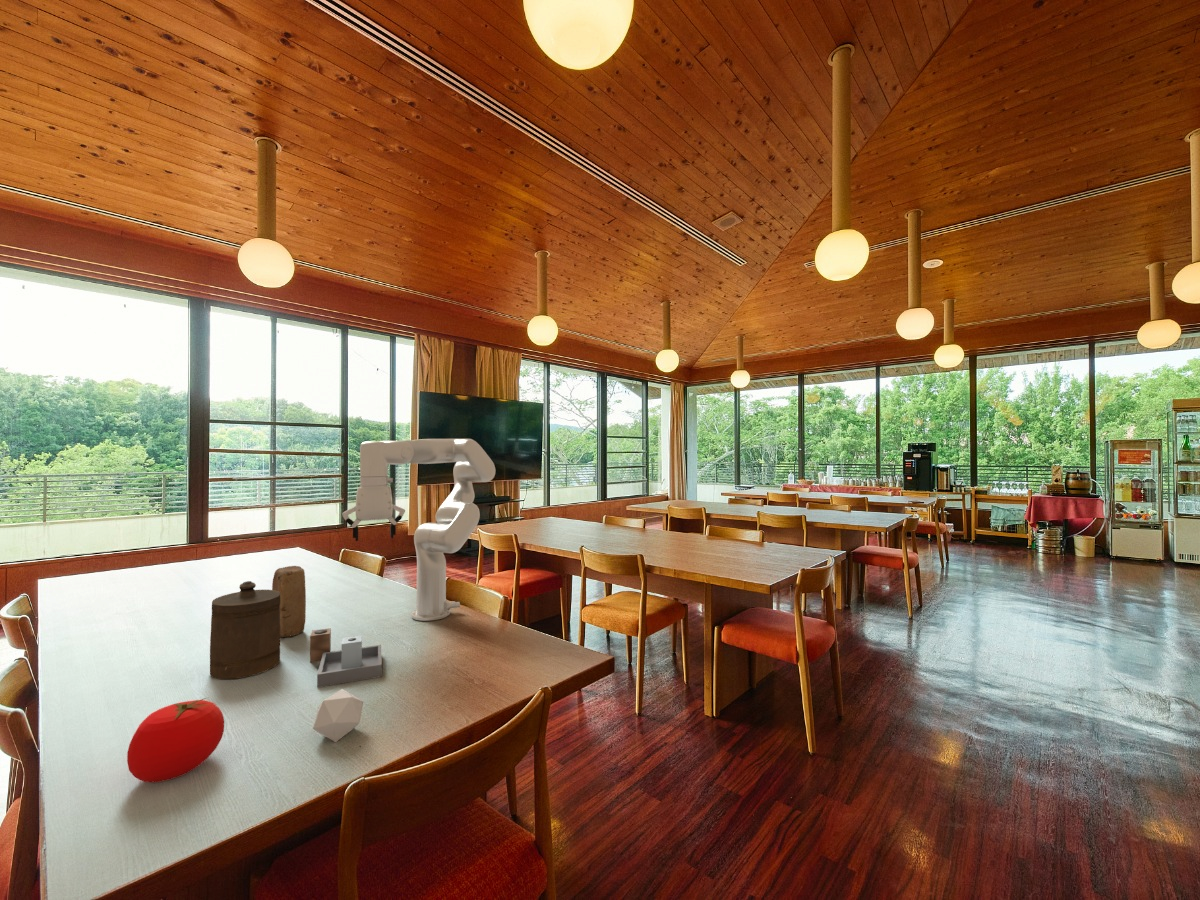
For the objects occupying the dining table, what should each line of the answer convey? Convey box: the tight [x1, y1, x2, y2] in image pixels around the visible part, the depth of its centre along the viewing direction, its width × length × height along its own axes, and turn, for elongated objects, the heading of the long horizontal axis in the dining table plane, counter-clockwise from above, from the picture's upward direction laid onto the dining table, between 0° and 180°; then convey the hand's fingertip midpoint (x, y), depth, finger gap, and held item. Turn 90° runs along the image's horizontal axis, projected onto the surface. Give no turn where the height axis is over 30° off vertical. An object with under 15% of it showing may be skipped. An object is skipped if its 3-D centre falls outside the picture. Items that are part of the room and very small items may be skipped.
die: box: [312, 688, 364, 743], centre depth 98 cm, size 8×9×10 cm
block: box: [271, 565, 307, 638], centre depth 153 cm, size 11×8×20 cm
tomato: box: [126, 696, 225, 783], centre depth 87 cm, size 12×14×12 cm
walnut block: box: [309, 628, 332, 663], centre depth 135 cm, size 4×4×7 cm
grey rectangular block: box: [341, 635, 363, 670], centre depth 127 cm, size 4×4×7 cm
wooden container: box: [209, 580, 281, 680], centre depth 129 cm, size 15×15×22 cm
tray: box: [316, 644, 383, 688], centre depth 127 cm, size 14×14×3 cm
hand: (374, 538), depth 150 cm, fingers open, 9 cm apart
